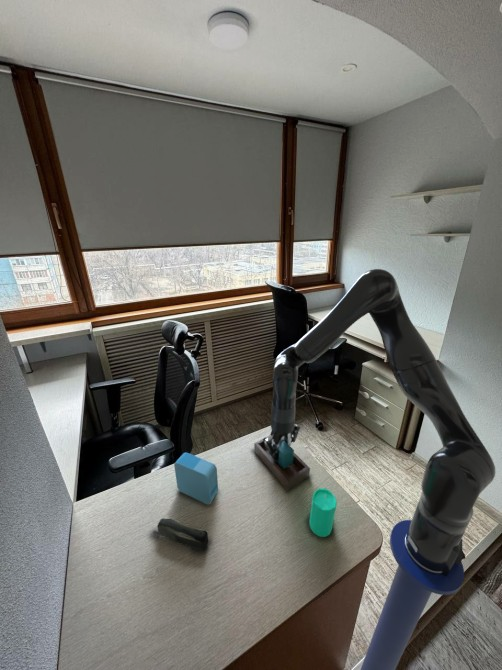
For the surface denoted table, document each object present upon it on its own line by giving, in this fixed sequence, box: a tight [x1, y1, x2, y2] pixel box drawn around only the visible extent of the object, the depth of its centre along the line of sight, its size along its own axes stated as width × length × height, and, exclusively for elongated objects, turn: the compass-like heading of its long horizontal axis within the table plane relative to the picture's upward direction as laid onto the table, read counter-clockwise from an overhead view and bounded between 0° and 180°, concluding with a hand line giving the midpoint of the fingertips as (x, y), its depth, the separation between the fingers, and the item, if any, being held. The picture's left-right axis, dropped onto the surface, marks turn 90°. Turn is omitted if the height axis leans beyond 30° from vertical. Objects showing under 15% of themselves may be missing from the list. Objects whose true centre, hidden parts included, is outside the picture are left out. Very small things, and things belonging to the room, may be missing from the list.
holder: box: [253, 435, 311, 491], centre depth 91 cm, size 18×9×4 cm, turn 33°
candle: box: [309, 487, 337, 538], centre depth 71 cm, size 6×6×12 cm
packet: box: [269, 441, 295, 469], centre depth 90 cm, size 4×8×6 cm, turn 33°
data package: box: [173, 452, 219, 505], centre depth 80 cm, size 12×4×12 cm, turn 65°
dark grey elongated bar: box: [152, 517, 209, 551], centre depth 69 cm, size 5×3×15 cm
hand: (280, 455), depth 90 cm, fingers closed on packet, 4 cm apart
